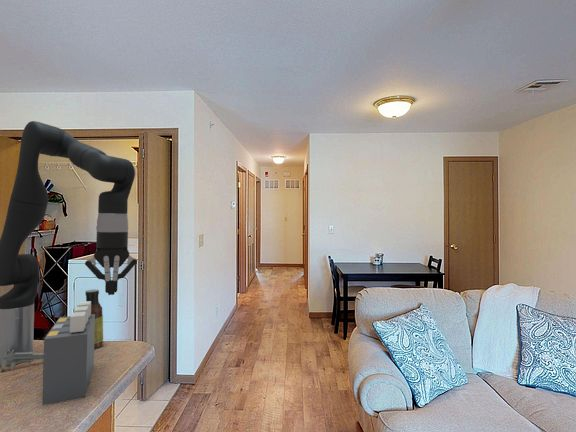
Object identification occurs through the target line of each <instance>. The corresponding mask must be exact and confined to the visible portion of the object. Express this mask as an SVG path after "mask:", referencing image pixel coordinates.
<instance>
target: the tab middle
mask: <svg viewBox="0 0 576 432" xmlns="http://www.w3.org/2000/svg"><path fill="white" fill-rule="evenodd" d="M75 312H86V324H87V322H88V313H89V306H83V307H77V306H76V307H75V309H74V310H73V313H75Z"/></svg>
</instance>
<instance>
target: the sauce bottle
mask: <svg viewBox="0 0 576 432" xmlns="http://www.w3.org/2000/svg"><path fill="white" fill-rule="evenodd" d="M84 294H85V299H86V301H91V314H95V335H94V350H95V349H98V348H100V347H102V346H103V344H104V318H103V317H104V315H103V307H102V305H101V304H100V302H99V301H100V300H99V294H100V289H94V288H93V289H88V290H85V293H84Z"/></svg>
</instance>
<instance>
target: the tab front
mask: <svg viewBox="0 0 576 432" xmlns="http://www.w3.org/2000/svg"><path fill="white" fill-rule="evenodd" d="M69 316H70V333H72V332H81V331H84V329H85V327H86V312H75V313H74V312H72V313H71V314H70V315H69Z"/></svg>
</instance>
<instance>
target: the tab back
mask: <svg viewBox="0 0 576 432" xmlns="http://www.w3.org/2000/svg"><path fill="white" fill-rule="evenodd" d="M83 306H89V313H88V318H89V317H90V315H91V301H85V300H84V301H79V302H78V303H77V305H76V307H83Z"/></svg>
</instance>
